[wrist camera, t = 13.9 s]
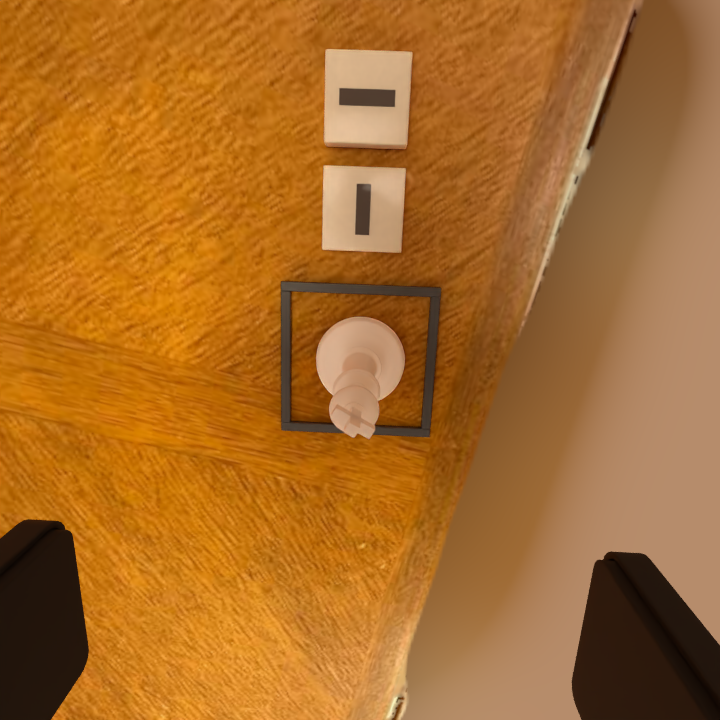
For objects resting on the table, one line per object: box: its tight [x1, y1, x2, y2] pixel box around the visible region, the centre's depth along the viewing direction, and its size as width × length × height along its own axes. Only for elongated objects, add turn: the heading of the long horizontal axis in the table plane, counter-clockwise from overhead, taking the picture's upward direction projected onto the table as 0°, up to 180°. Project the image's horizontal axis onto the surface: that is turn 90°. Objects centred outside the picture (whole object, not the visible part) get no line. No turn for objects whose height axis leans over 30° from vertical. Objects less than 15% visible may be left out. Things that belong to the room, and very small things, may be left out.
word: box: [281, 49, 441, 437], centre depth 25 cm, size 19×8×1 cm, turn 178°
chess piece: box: [316, 317, 405, 439], centre depth 22 cm, size 5×5×10 cm
